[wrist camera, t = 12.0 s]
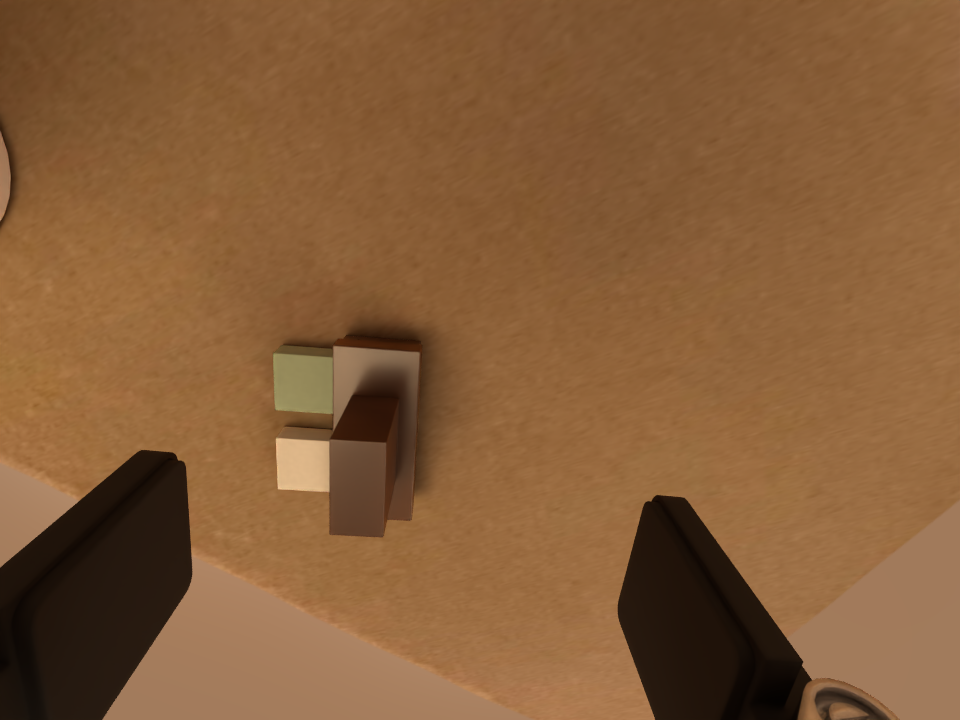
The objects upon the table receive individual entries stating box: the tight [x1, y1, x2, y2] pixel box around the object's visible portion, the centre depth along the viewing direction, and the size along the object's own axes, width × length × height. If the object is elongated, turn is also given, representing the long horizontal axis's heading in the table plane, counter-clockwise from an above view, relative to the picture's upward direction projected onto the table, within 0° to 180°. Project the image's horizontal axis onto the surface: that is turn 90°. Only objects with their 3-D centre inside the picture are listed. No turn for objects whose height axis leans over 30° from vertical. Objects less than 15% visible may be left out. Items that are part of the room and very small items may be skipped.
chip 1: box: [273, 345, 333, 414], centre depth 35 cm, size 4×4×2 cm
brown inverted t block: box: [329, 335, 422, 537], centre depth 32 cm, size 5×12×9 cm, turn 175°
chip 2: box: [276, 427, 333, 492], centre depth 37 cm, size 4×4×2 cm
